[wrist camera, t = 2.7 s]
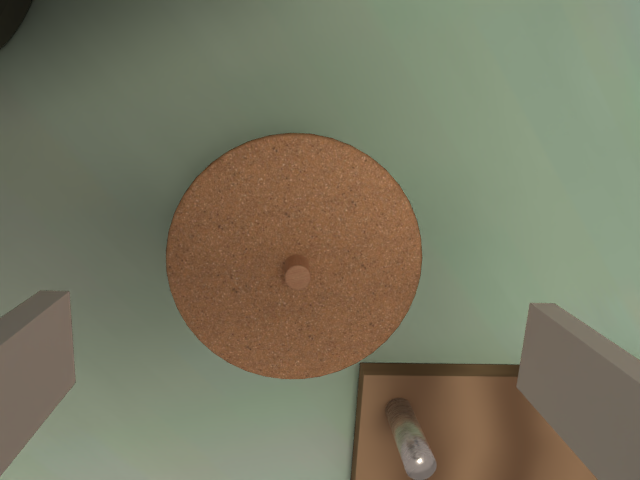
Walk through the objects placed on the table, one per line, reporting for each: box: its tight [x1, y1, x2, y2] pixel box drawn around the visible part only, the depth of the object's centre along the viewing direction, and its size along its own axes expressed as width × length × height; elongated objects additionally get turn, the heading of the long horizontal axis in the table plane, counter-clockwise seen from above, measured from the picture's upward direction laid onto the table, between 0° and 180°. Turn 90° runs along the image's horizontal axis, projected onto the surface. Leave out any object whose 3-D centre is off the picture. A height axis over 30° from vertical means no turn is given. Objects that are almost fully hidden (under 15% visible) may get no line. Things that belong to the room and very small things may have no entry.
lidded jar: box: [166, 133, 422, 379], centre depth 23 cm, size 11×11×9 cm
